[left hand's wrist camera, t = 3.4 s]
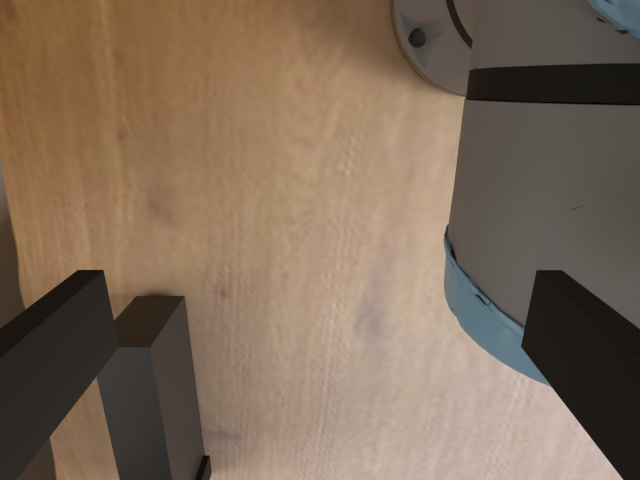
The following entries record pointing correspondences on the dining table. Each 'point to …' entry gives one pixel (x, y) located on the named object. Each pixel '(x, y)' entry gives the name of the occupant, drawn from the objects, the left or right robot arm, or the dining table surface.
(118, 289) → the dining table surface
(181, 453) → the bar
